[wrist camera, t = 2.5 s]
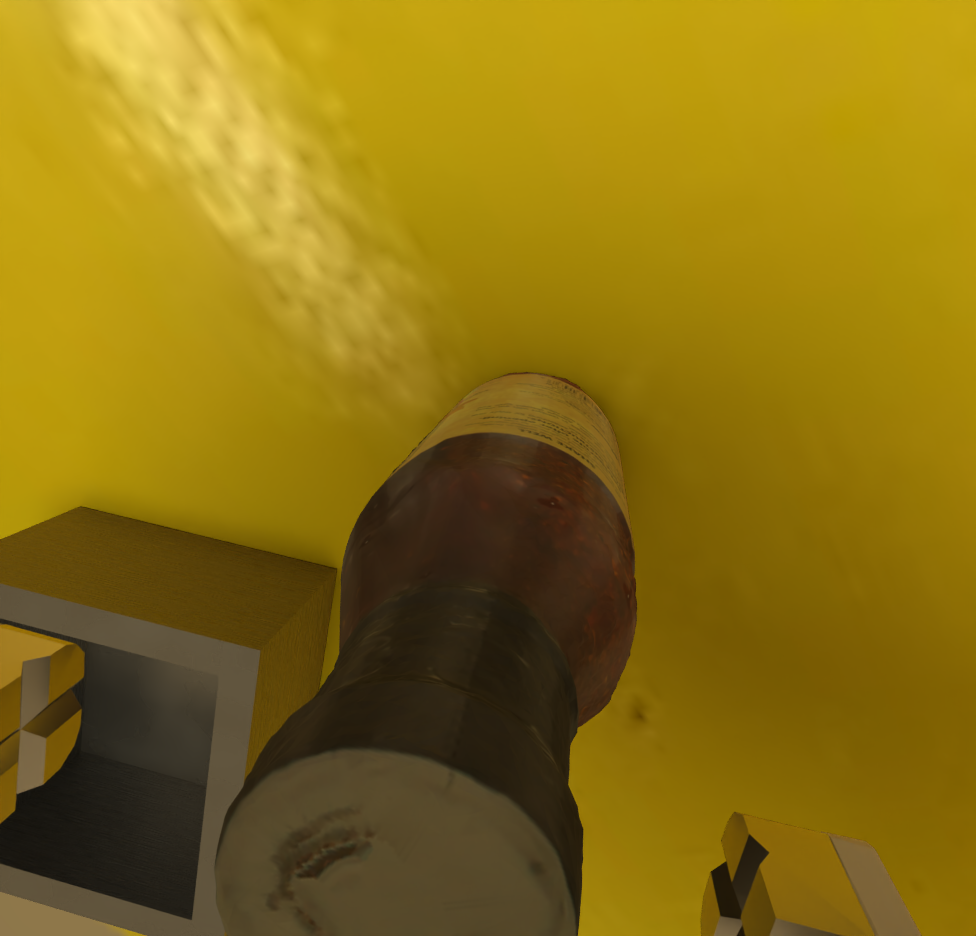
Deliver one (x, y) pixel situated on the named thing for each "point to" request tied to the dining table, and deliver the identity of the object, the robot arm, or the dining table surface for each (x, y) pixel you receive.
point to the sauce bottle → (451, 690)
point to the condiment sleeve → (154, 708)
